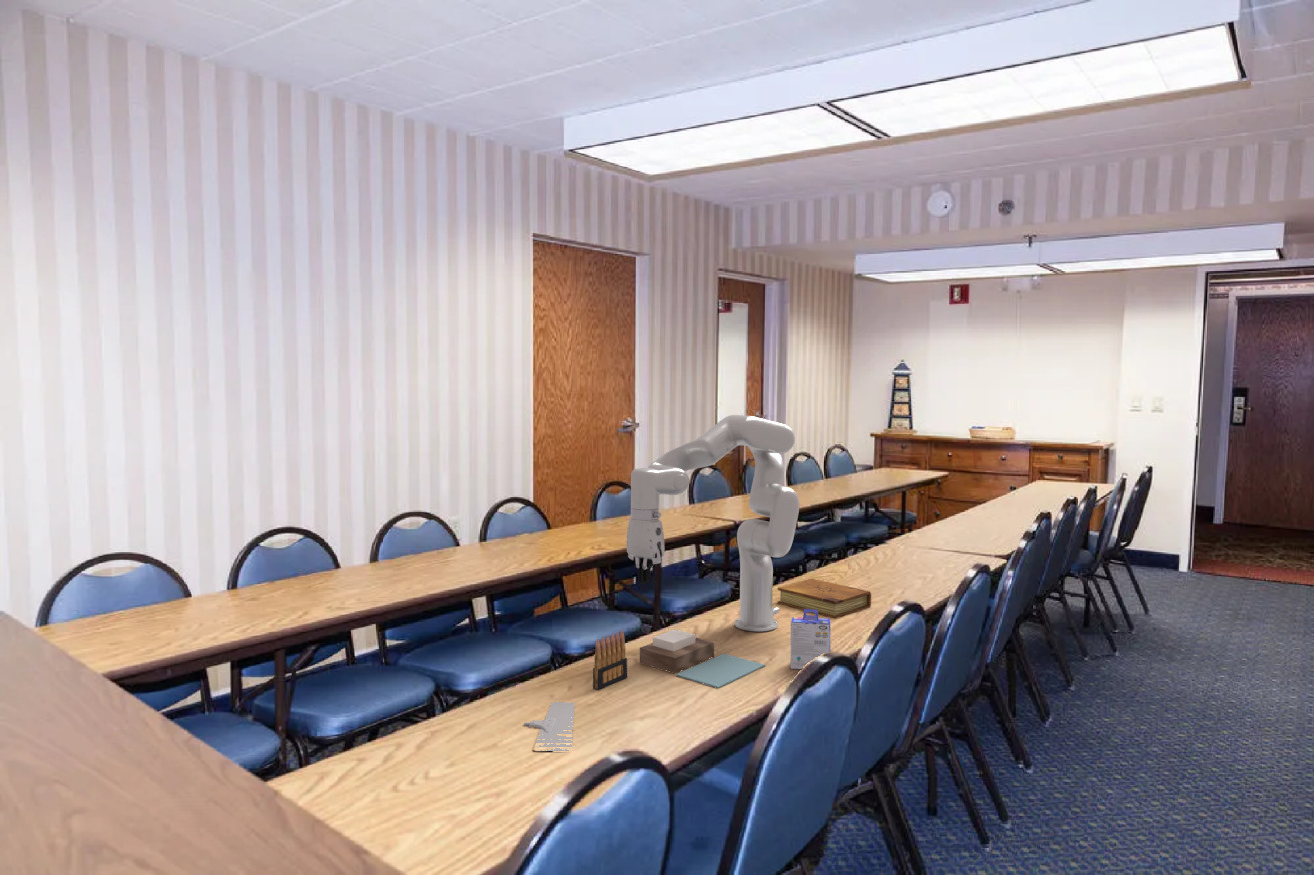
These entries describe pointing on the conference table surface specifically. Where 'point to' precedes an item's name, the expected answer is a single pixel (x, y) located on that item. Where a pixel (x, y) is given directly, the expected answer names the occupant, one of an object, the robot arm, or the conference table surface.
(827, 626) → the ink cartridge box
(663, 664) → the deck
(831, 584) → the diary
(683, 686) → the conference table surface
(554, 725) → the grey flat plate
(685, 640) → the white rectangular block
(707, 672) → the mat
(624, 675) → the ammunition clip
